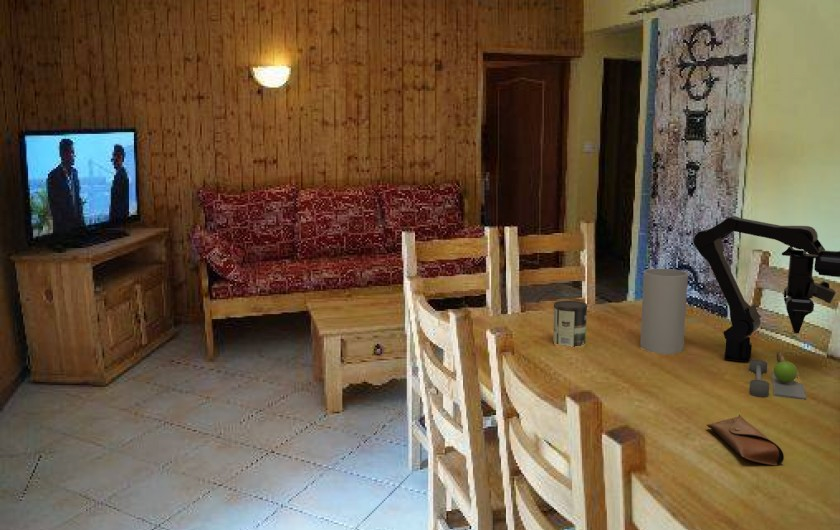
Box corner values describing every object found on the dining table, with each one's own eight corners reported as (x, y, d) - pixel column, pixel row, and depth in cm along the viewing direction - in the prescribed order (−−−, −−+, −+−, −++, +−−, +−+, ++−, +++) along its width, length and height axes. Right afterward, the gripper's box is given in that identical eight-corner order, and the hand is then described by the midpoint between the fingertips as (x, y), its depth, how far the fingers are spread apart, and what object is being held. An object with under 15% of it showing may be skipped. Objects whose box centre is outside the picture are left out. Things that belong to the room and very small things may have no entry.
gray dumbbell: (748, 399, 175) (750, 384, 175) (748, 372, 195) (749, 358, 195) (768, 402, 173) (769, 386, 173) (766, 374, 193) (767, 360, 193)
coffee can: (582, 342, 225) (583, 300, 222) (589, 352, 215) (590, 307, 212) (550, 342, 225) (551, 300, 223) (555, 352, 215) (556, 307, 212)
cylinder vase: (676, 346, 220) (681, 268, 215) (687, 359, 207) (693, 276, 203) (636, 346, 221) (640, 268, 216) (644, 358, 209) (649, 276, 204)
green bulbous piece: (799, 388, 180) (789, 362, 191) (799, 368, 178) (788, 342, 188) (776, 390, 182) (767, 364, 192) (775, 369, 180) (766, 344, 190)
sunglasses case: (702, 422, 157) (723, 400, 156) (724, 441, 158) (745, 419, 157) (743, 458, 139) (766, 434, 138) (767, 479, 140) (790, 455, 139)
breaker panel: (773, 399, 175) (774, 388, 174) (771, 377, 191) (772, 367, 190) (805, 403, 172) (806, 392, 171) (800, 380, 188) (801, 370, 188)
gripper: (839, 281, 177) (833, 341, 179) (830, 269, 193) (825, 323, 196) (789, 278, 181) (784, 336, 184) (785, 266, 198) (781, 320, 201)
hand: (795, 329), depth 191 cm, fingers open, 9 cm apart
